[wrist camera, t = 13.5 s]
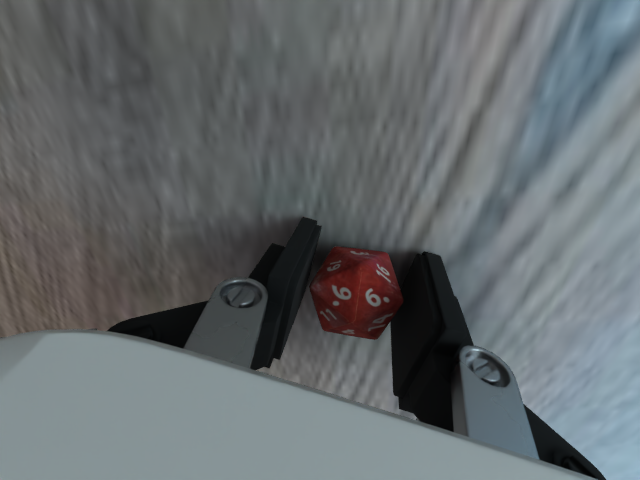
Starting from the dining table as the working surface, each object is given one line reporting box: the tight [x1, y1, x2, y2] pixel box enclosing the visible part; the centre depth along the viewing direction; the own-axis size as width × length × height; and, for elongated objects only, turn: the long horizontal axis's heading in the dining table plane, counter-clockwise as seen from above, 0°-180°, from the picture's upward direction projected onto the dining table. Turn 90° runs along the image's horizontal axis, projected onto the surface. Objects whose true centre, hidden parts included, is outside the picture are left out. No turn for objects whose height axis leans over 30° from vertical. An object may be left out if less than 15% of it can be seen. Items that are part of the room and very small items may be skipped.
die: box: [309, 246, 403, 340], centre depth 10 cm, size 3×3×3 cm
